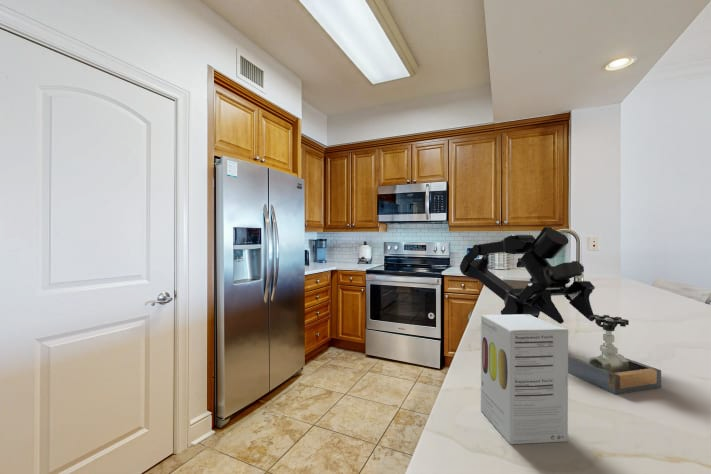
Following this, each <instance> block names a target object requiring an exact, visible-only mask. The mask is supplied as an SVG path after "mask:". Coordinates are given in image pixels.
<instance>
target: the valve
mask: <svg viewBox="0 0 711 474" xmlns="http://www.w3.org/2000/svg"><path fill="white" fill-rule="evenodd" d="M593 319H594V321H593ZM589 321H590V322H594V323H595V324H596V326H598V327H600V328H602V330H603V331H605V333H603V334H602V340H603V341H604V342H603V344H600V346H599V351H600V352H601V354H600V355H597V356H592V357H590V358H589V360H588V363H590V364H592V365H595V366H597V367H600V368H602V369H605V370H607V371H610V372H612V373H618V372H620V371H627V370H628V369H629V362H628V360H627V359H628V358H627V357H625V356H624V355H622V354H621V353H619V351H618V350H619V348H618V347H616V346H615V344H613V343H615V335H614V334H613V333H612V332H614V331H616V330H615V329H616V328H617V327H618V325H619V327H622V328H625V327H627V326H630V325H629V324H630V322H629V319H625V318H623V317H621V316H614V317H613V316H610V315H609V314H603V315H599V314H594V315H593V316H590V320H589ZM626 358H627V359H626Z"/></svg>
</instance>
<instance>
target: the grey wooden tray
mask: <svg viewBox="0 0 711 474" xmlns="http://www.w3.org/2000/svg"><path fill="white" fill-rule="evenodd" d="M625 358H626V359H627V360H628V362H629V369H628V370H627V371H620V372H618V373H612V372H610V371H607V370H605V369H602V368H600V367H597V366H595V365H592V364H590V363H589V362H587V361H585V360H581V359H580V358H577V357H576V356H571V355H570V354H568V374H570V375H572V376H575V377H577V378H578V379H581V380H583V381H584V382H585V381H586V382H588V383H590V384H592V385H594V386H596V387H598V388H601V389H603V390H605V391H607V392H609V393H611V394H613V395H621V394H629V393H634V392H640V391H649V390H654V389H661V388H662V370H661V369H659V368H656V367H653V366H650V365H647V364H644V363H642V362H638V361H635V360H632V359H629V358H627V357H625Z"/></svg>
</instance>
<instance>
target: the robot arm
mask: <svg viewBox="0 0 711 474" xmlns="http://www.w3.org/2000/svg"><path fill="white" fill-rule="evenodd" d="M568 244H569V239H568V237H567V236H566V234H563V233H562V232H560V231H558V230H556V229H553V228H552V227H551V226H544V227H543V228H542V229H541V231H540V233H539V234H538V235H537V237H536V238H535V237H534V235H532V234H511V235H509V236H508V235H507V236H506V237H504V238H503V239H502V240H498V241H491V242H486V243H475V244H473V246H472V247H471V250H470V251H469V252H467V253H466V254H465V255H464V256H463V258H462V260H461V262H460V264H459V270H460V273H461V274H462V275H463V276H465V277H466V278H470V279H473V280H477V281H479V283H481V284H482V285H483V286H484V287H486V288H487V289H488V290H490V291H491V292H492V293H494V295H496V296H498V297H499V298H500V299H501V300H503V303H504V307H503V308H502V309H501V310H500V315H513V314H530V315H532V316H534V317H536V318H539V316H540V313H543V314H544V315H545V316H547V317H548V318H550V319H552V321H553V320H554V321H555V322H557V323H558V324H561V325H562V324H563V323H564V322H565V321H564V318H563V316H562V315H561V313H560V311H559V310H558V308H557V307H556V305H555V303H554V302H553V300H552V297H555V296H563V297H565V299H566V300H568V301H569V302H568V303H569V305H571V307H573V308H574V309H576V311H578V312H579V314H581V315H583V317H585V318H586V319H587V320H589V321H590V316H593V315H595V314H594V312H593V309H592V305H591V302H590V295H591V294H592V293H593V291H594V290H595V289H596V287H595V286H594V285H593V284H592V283H593V282H591V281H589V280H574V281H573V282H572V283H571V284H570V285H569V286H566V285H568V284H569V283H570V282H571V280H570V279H571V278H572V279H573V278H575V277H581V276H582V275H583V274H582V273H584V271H585V267H584V265H582V264H581V263H580V262H579V260H572V261H571V262H568V261H567V262H561V263H559V264H557V265H555V266H554V265H553V266H552V264H551V263H550V262H549V260H552V259H555V257H557V256H558V254H560V253H561V251H562V250H563V249H565V247H566V246H567V245H568ZM495 254H508V255H522V256H521V257H518V258H517V262H516V268H517V269H518V268H519V269H520V268H525V270H526V271H527V272H528V274H529V275H530V278H529V283H527V284H526V286H525V287H521V288H519V287H518V288H514V287H513V286H512V285H510V284H508V283H507V282H505V280H502V279H501V278H500V277H498V276H497V275H495V274H494V273H493V272H491V271H490V270H489V267H488V265H489V263H490V260H489V257H490V255H495ZM478 256H482V257H481V259H479V258H478ZM477 258H478V259H477ZM592 322H595V320H594V319H593V321H592Z"/></svg>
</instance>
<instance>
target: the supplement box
mask: <svg viewBox="0 0 711 474" xmlns="http://www.w3.org/2000/svg"><path fill="white" fill-rule="evenodd" d="M480 324H481V325H480V327H481V328H480V331H481V332H480V335H481V336H480V342H481V343H480V411H481V412H482V413H483V415H484V416H486V418H487V419H488V420H489V422H490V423H491V424H492V425H493V426H494V428H496V429H497V431H498V433H500V434H501V435H502V436H503V438H504V439H505V440H506V441H507V442H508V443H509V444H510V445H521V444H522V445H524V444H525V445H526V444H542V443H545V444H546V443H563V442H568V439H569V438H568V435H569V433H568V431H569V428H568V427H569V426H568V425H569V424H568V422H569V420H568V419H569V418H568V417H569V415H568V412H569V404H568V403H569V399H568V398H569V389H568V388H569V386H568V385H569V382H568V381H569V373H568V355H569V330H568V328H565V327H563V326H559V325H556V324H555V323H551V322H549V321H546V320H544V319H541V318H539V317H538V318H536V317H534V316H532V315H530V314H513V315H501V314H483V315H482V314H481V316H480Z"/></svg>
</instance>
